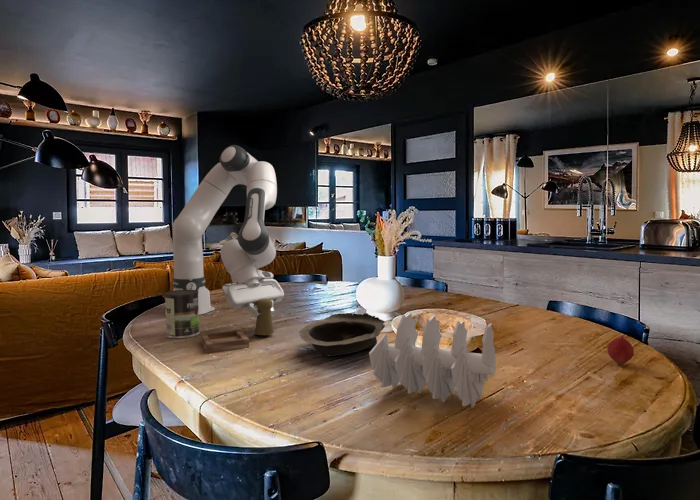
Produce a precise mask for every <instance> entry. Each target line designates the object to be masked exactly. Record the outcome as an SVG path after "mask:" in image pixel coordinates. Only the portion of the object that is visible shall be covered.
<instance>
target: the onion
mask: <svg viewBox="0 0 700 500" xmlns="http://www.w3.org/2000/svg"><path fill="white" fill-rule="evenodd" d="M634 352H635V351H634V348H633V346H632V344H631V342H630V341H629V340H627V339H625V337H624V335H623V334H620V335H619V336H618V337H616V338H614V339H612V340H611V342H610V343H609V344H608V346H607V354H608V356H609V357H610V358H611V359H612V360H613V362H615V363H616V364H617V365H619V364H620V365H619V366H623V365H624V364H625V363H626V364H627V362H628V361H630V360H631V359H633V357H634V356H635V355H634ZM622 364H623V365H622Z"/></svg>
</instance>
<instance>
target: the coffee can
mask: <svg viewBox="0 0 700 500" xmlns="http://www.w3.org/2000/svg"><path fill="white" fill-rule="evenodd" d="M164 298H165V301H164V303H165V312H166V315H165V317H166V318H165V322H166V324H165V325H166V337H168V338H169V339H187V338H193V337H196V336H198V335H199V334H200V315H199V308H198V291H197V290H175V291H173V290H171V291H170V290H169V291H167V292H165V293H164Z"/></svg>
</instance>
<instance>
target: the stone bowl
mask: <svg viewBox="0 0 700 500" xmlns="http://www.w3.org/2000/svg"><path fill="white" fill-rule="evenodd" d="M385 323H386V321H385V320H383V319H380V318H379V317H378V316H377V317H376V316H375V315H371V314H369V313H363V314H362V313H351V312H350V313H348V312H345V313H343V312H342V313H341V312H339V313H334V314H331V315H329V317H325V319H323V320H316V321H315V322H311V323H310V324H307V325H305V326H303V328H301V329H300V330H299V331H298V333H299V337H300V339H301V340H303V341H304V342H306V343H309V344H311V345H312V347H313V348H314V350H315V352H316V353H317V354H318V355H320V356H321V357H324V358H326V357H336V356H342V355H346V354H351V353H356V352H360V351H362V350H364V351H367V352H370V351H371V350H372V349H373V348H374V346H375V345H376V344H377V343H378V339H377V337H379V335H380V334H381V333H382V331H383V330H384V328H385V327H386V324H385Z"/></svg>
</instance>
